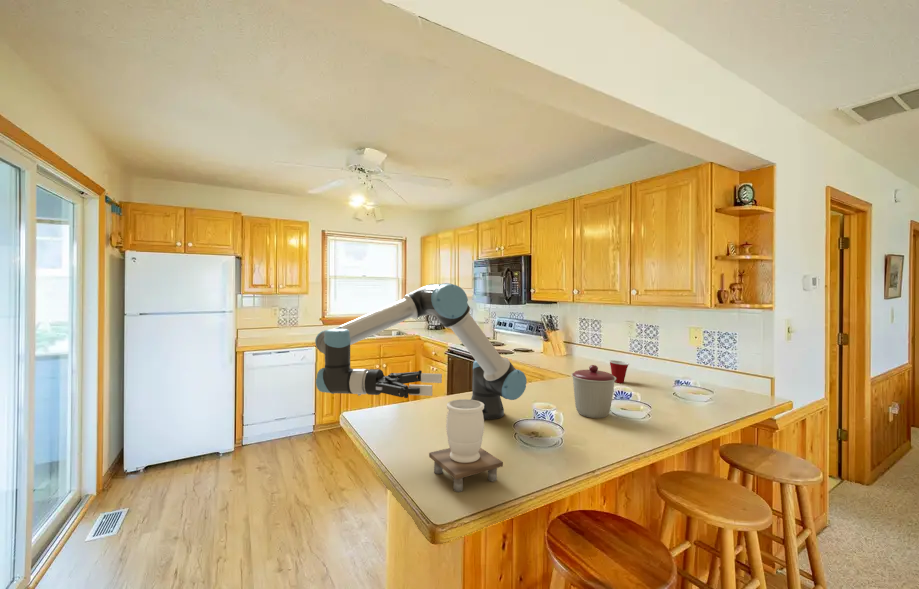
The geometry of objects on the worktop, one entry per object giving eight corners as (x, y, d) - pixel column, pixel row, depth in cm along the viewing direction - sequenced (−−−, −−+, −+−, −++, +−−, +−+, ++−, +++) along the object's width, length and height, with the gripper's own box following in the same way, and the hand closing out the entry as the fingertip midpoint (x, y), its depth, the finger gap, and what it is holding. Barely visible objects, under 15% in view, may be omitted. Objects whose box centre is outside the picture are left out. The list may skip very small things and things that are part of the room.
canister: (565, 407, 173) (566, 360, 172) (606, 408, 172) (607, 361, 172) (576, 421, 155) (578, 369, 154) (622, 422, 154) (623, 370, 154)
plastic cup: (632, 384, 217) (632, 363, 217) (612, 384, 217) (613, 363, 217) (624, 380, 228) (624, 360, 228) (605, 379, 228) (606, 359, 228)
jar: (484, 450, 112) (485, 399, 112) (482, 466, 102) (483, 410, 102) (448, 448, 114) (449, 397, 113) (443, 464, 103) (443, 408, 103)
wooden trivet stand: (428, 470, 110) (429, 452, 110) (472, 459, 118) (472, 442, 118) (455, 495, 98) (455, 474, 97) (502, 480, 105) (502, 462, 105)
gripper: (382, 383, 128) (444, 385, 125) (350, 407, 104) (427, 410, 101) (382, 361, 128) (444, 362, 125) (350, 379, 103) (427, 382, 100)
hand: (437, 384), depth 113 cm, fingers open, 13 cm apart
